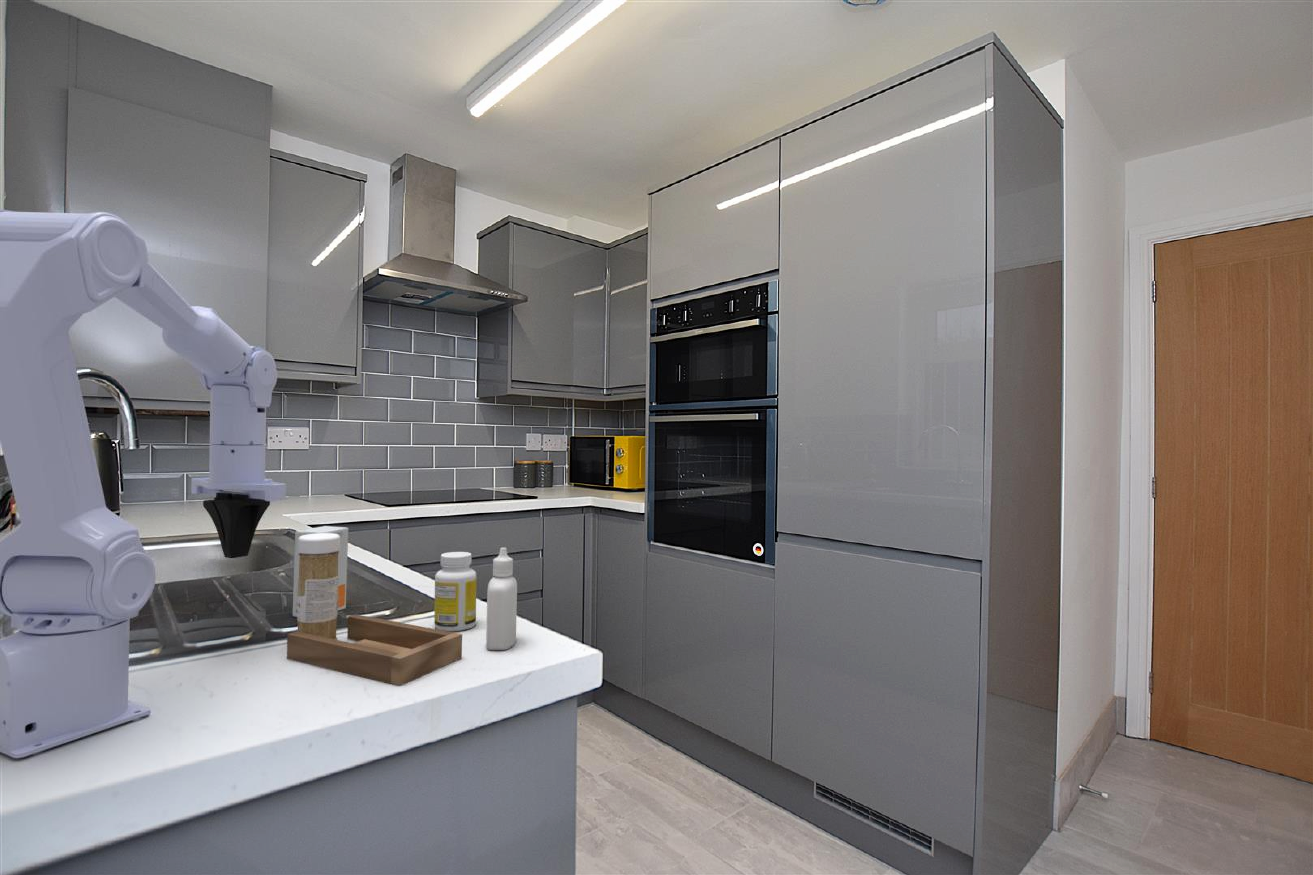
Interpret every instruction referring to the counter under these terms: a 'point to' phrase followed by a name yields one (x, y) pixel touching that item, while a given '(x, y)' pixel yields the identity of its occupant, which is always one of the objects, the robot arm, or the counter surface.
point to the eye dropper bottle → (501, 604)
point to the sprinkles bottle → (318, 584)
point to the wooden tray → (379, 650)
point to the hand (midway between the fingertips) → (236, 556)
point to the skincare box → (341, 563)
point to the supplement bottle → (455, 593)
